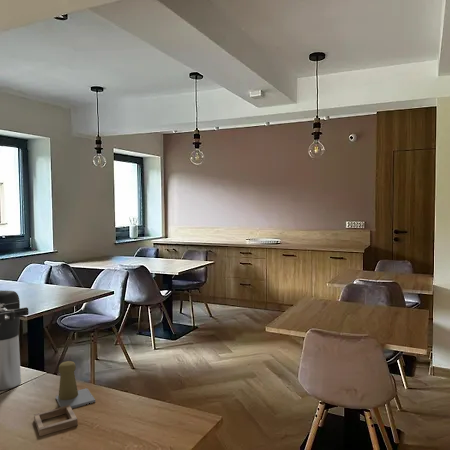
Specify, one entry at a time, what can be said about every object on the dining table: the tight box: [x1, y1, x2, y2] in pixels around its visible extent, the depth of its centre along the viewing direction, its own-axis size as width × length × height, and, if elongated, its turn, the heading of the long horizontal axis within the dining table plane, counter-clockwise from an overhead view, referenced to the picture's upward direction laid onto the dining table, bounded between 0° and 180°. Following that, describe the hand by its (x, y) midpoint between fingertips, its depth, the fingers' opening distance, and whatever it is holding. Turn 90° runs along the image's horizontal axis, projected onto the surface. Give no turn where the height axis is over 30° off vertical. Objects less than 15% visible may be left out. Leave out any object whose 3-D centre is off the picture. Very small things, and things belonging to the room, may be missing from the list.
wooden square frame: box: [33, 405, 79, 437], centre depth 122 cm, size 10×10×2 cm
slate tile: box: [55, 387, 96, 409], centre depth 136 cm, size 10×10×1 cm
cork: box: [58, 360, 79, 400], centre depth 137 cm, size 6×6×11 cm
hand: (23, 308), depth 127 cm, fingers open, 8 cm apart
